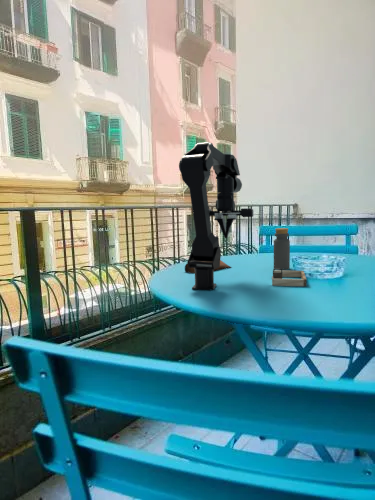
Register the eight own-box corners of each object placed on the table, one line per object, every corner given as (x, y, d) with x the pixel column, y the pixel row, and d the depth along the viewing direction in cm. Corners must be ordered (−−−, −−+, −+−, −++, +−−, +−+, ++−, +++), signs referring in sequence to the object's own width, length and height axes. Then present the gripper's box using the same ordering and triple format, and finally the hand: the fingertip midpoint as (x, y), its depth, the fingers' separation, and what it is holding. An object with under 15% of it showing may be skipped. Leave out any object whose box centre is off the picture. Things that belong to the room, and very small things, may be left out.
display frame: (306, 286, 108) (306, 279, 108) (272, 285, 110) (272, 279, 110) (303, 276, 121) (303, 270, 121) (272, 276, 123) (272, 270, 123)
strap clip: (271, 278, 121) (271, 266, 121) (280, 278, 121) (280, 266, 120) (274, 284, 113) (274, 271, 112) (284, 284, 113) (284, 271, 112)
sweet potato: (200, 274, 129) (193, 257, 131) (188, 281, 134) (182, 265, 136) (233, 267, 141) (226, 251, 143) (221, 274, 146) (215, 259, 148)
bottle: (291, 269, 133) (291, 229, 131) (275, 270, 134) (275, 229, 131) (287, 266, 139) (287, 227, 137) (272, 267, 139) (272, 228, 137)
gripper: (254, 192, 130) (254, 235, 132) (203, 193, 135) (204, 235, 137) (252, 191, 119) (252, 238, 121) (197, 193, 124) (198, 239, 126)
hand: (226, 237), depth 127 cm, fingers closed
